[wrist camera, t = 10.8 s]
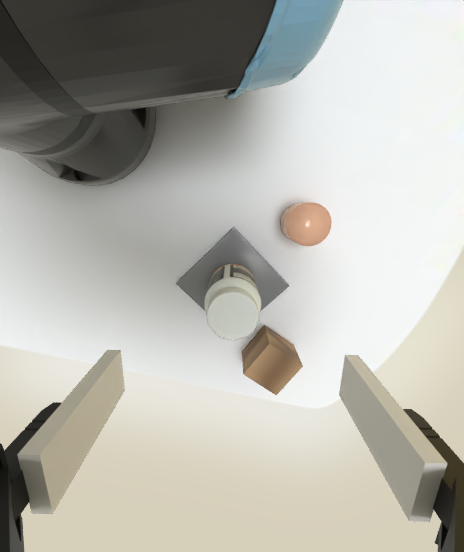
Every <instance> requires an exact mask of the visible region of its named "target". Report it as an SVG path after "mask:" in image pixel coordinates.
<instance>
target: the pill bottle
mask: <svg viewBox="0 0 464 552" xmlns="http://www.w3.org/2000/svg"><path fill="white" fill-rule="evenodd" d="M204 306H205V311H206V314H207V321H208V324H209V326H210V328H211V329H212V331H213V332H214V333H215V334H217V335H218V336H219V337H222V338H224V339H228V340H237V339H241V338H244V337H246V336H248V335H249V334H250V333H252V331H253V330H254V329H255V327H256V326H257V323H258V319H259V314H260V310H261V298H260V295H259V292H258V289H257V286H256V282H255V279H254V277H253V275H252V274H251V272H250V271H249V270H248V269H247V268H245V267H243V266H241V265H238V264H227V265H224V266H221V267H220V268H218V269H217V270H216V271H215V272H214V273H213V275H212V277H211V279H210V282H209V285H208V289H207V292H206V296H205V301H204Z"/></svg>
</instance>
